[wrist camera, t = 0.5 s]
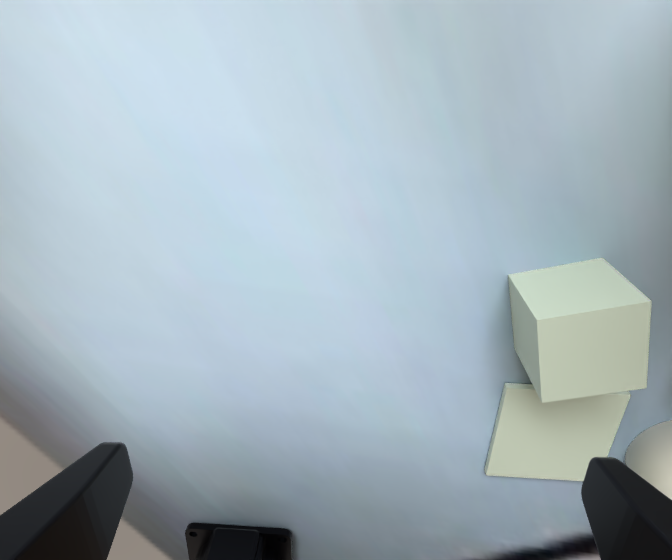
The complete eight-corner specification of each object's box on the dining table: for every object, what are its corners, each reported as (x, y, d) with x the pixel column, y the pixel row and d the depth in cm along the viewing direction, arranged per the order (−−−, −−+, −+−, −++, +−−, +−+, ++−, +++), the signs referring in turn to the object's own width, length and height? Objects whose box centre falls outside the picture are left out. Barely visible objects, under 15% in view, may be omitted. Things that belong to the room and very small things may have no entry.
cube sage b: (601, 333, 22) (646, 388, 19) (513, 347, 23) (541, 403, 19) (601, 256, 21) (651, 301, 17) (507, 273, 21) (536, 320, 18)
